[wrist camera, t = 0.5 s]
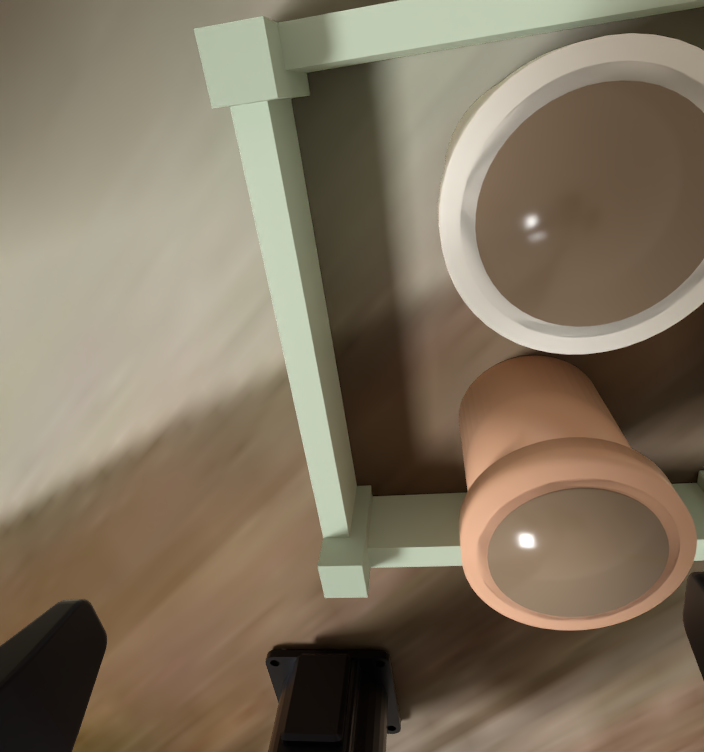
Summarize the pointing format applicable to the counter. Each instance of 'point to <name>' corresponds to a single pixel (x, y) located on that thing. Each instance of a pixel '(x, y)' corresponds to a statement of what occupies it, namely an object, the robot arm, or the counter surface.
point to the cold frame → (299, 253)
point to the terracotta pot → (563, 503)
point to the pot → (581, 195)
